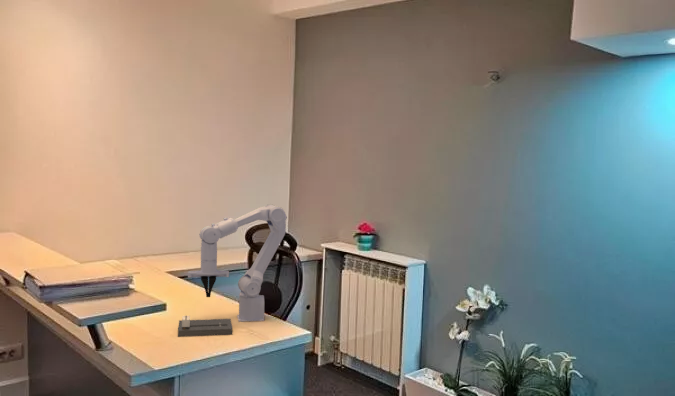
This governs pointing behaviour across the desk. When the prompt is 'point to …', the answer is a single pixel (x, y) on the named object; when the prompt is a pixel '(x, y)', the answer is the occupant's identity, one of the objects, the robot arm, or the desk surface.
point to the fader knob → (185, 321)
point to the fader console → (206, 327)
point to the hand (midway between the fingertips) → (208, 296)
